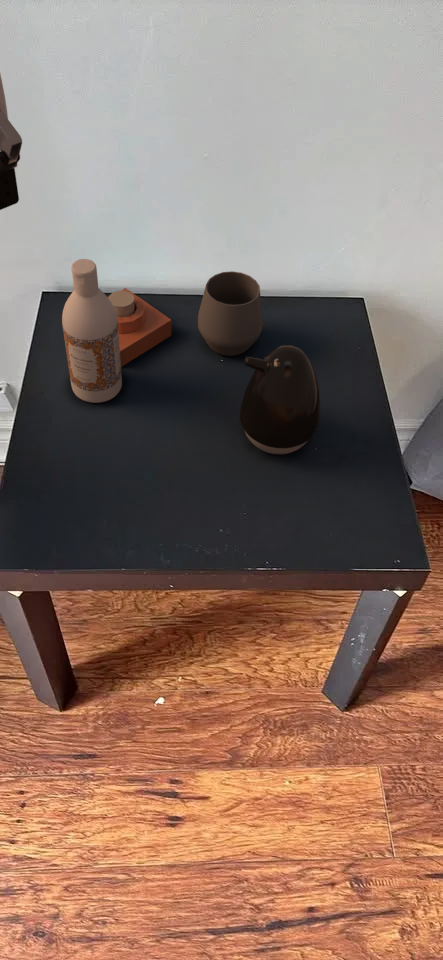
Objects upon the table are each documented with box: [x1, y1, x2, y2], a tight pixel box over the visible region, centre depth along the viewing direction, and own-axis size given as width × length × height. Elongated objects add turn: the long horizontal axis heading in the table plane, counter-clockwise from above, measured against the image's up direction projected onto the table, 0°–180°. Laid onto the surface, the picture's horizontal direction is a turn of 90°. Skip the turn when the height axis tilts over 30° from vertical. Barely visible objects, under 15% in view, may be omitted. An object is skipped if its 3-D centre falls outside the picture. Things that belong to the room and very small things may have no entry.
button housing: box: [107, 287, 172, 368], centre depth 109 cm, size 10×10×5 cm
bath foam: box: [61, 258, 123, 404], centre depth 96 cm, size 7×7×20 cm
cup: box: [197, 270, 264, 357], centre depth 107 cm, size 10×9×10 cm
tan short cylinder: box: [108, 290, 135, 317], centre depth 107 cm, size 4×4×2 cm
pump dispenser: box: [239, 344, 321, 455], centre depth 94 cm, size 10×10×15 cm
